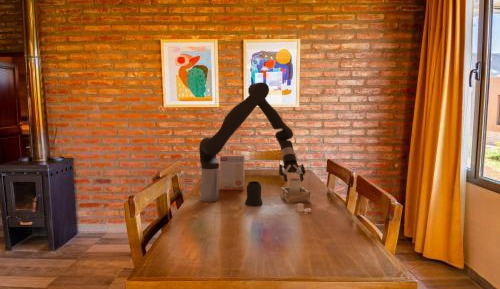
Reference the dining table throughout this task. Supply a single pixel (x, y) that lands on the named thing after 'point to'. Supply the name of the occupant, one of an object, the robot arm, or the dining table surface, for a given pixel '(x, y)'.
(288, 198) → the crate
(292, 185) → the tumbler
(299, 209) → the teacup and saucer
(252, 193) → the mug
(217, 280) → the dining table surface
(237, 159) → the cracker box
